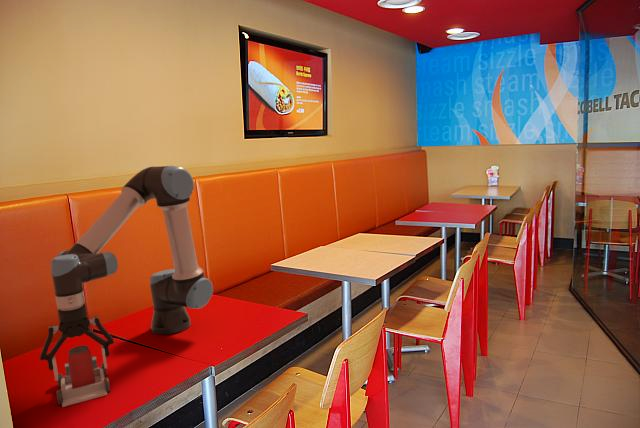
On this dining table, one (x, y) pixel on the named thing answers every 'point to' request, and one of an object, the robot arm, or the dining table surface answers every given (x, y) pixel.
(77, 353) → the beer can
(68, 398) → the chassis
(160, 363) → the dining table surface
